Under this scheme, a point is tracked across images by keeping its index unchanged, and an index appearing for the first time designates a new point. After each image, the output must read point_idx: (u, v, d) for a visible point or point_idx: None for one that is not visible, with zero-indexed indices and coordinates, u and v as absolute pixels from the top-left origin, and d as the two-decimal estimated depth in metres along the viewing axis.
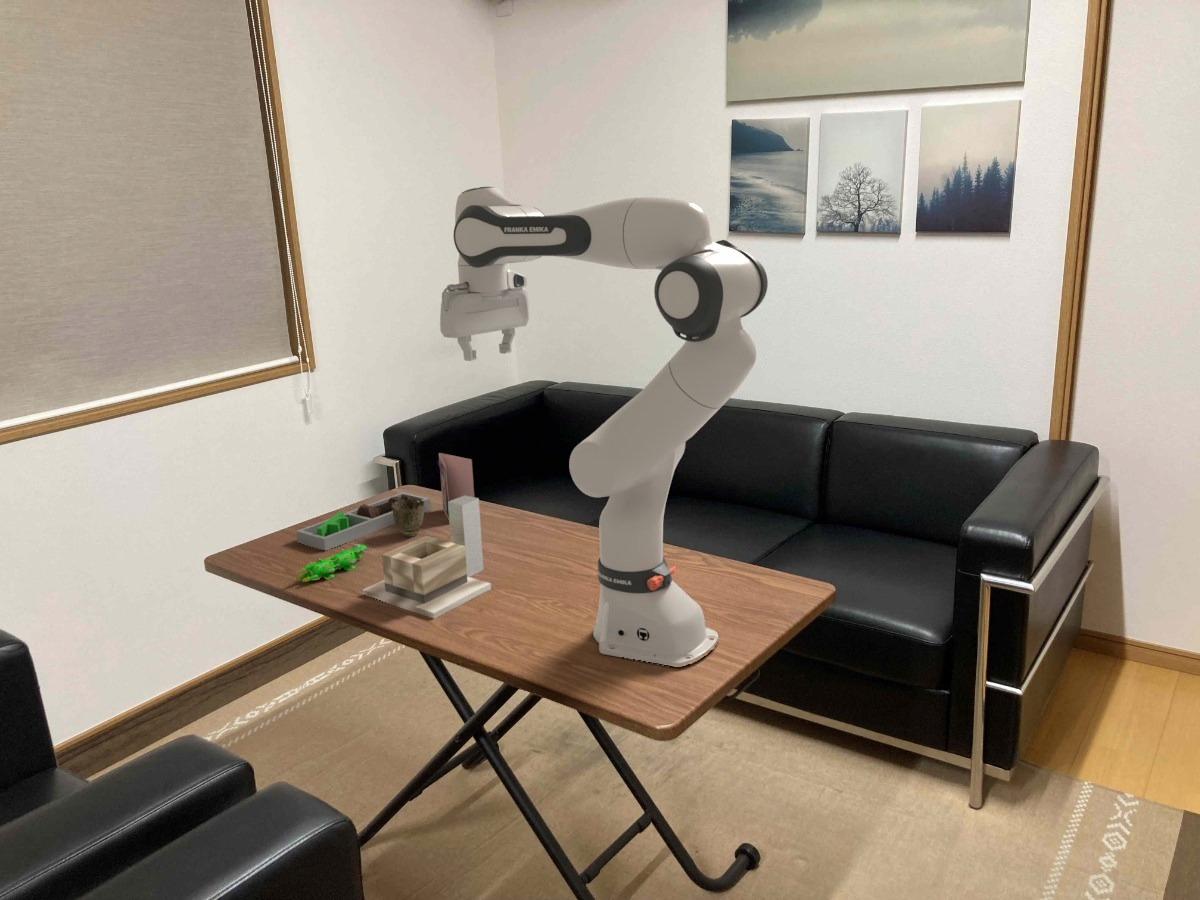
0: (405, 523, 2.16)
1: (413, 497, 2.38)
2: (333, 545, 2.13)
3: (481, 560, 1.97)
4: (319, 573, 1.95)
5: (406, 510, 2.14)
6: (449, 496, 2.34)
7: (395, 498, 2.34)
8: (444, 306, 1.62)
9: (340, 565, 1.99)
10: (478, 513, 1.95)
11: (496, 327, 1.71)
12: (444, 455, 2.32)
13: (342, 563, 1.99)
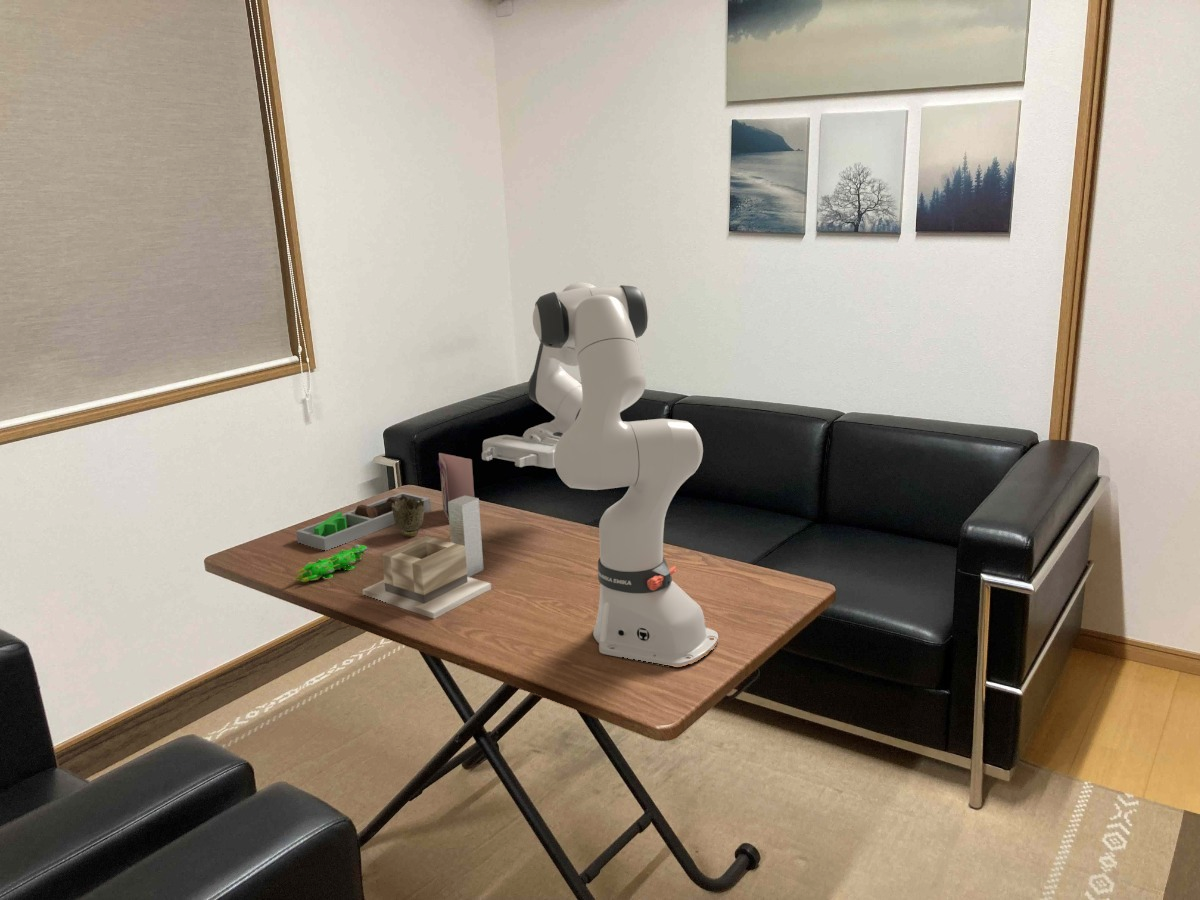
0: (405, 523, 2.16)
1: (413, 497, 2.38)
2: (333, 545, 2.13)
3: (481, 560, 1.97)
4: (318, 573, 1.95)
5: (406, 510, 2.14)
6: (449, 496, 2.34)
7: (393, 498, 2.34)
8: None
9: (340, 565, 1.99)
10: (478, 513, 1.95)
11: (518, 446, 2.05)
12: (444, 455, 2.32)
13: (341, 563, 1.99)
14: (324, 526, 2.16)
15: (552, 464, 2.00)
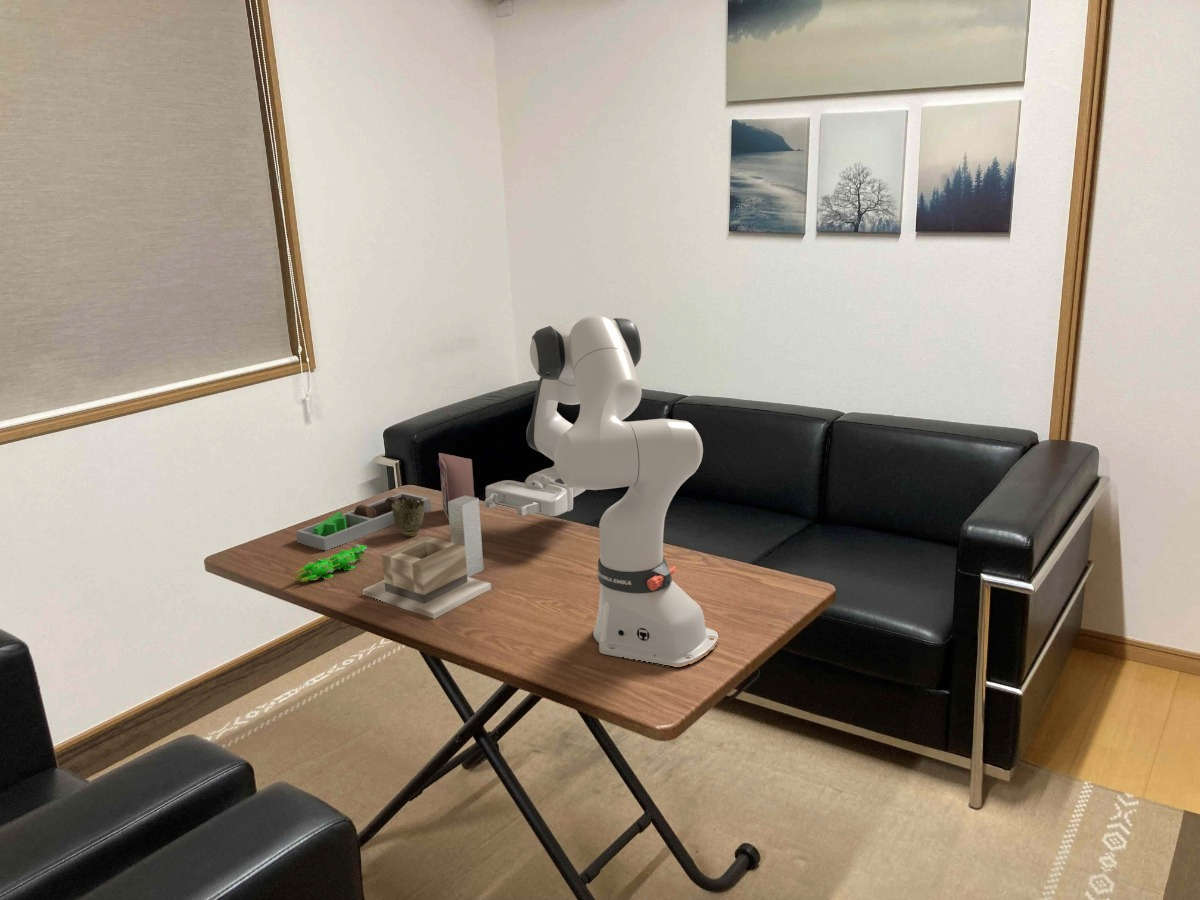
0: (405, 523, 2.16)
1: (413, 497, 2.38)
2: (333, 545, 2.13)
3: (481, 560, 1.97)
4: (318, 573, 1.95)
5: (406, 510, 2.14)
6: (449, 496, 2.34)
7: (392, 498, 2.34)
8: None
9: (339, 565, 1.99)
10: (478, 513, 1.95)
11: (521, 493, 2.08)
12: (444, 455, 2.32)
13: (341, 563, 1.99)
14: (323, 526, 2.16)
15: (554, 513, 2.03)
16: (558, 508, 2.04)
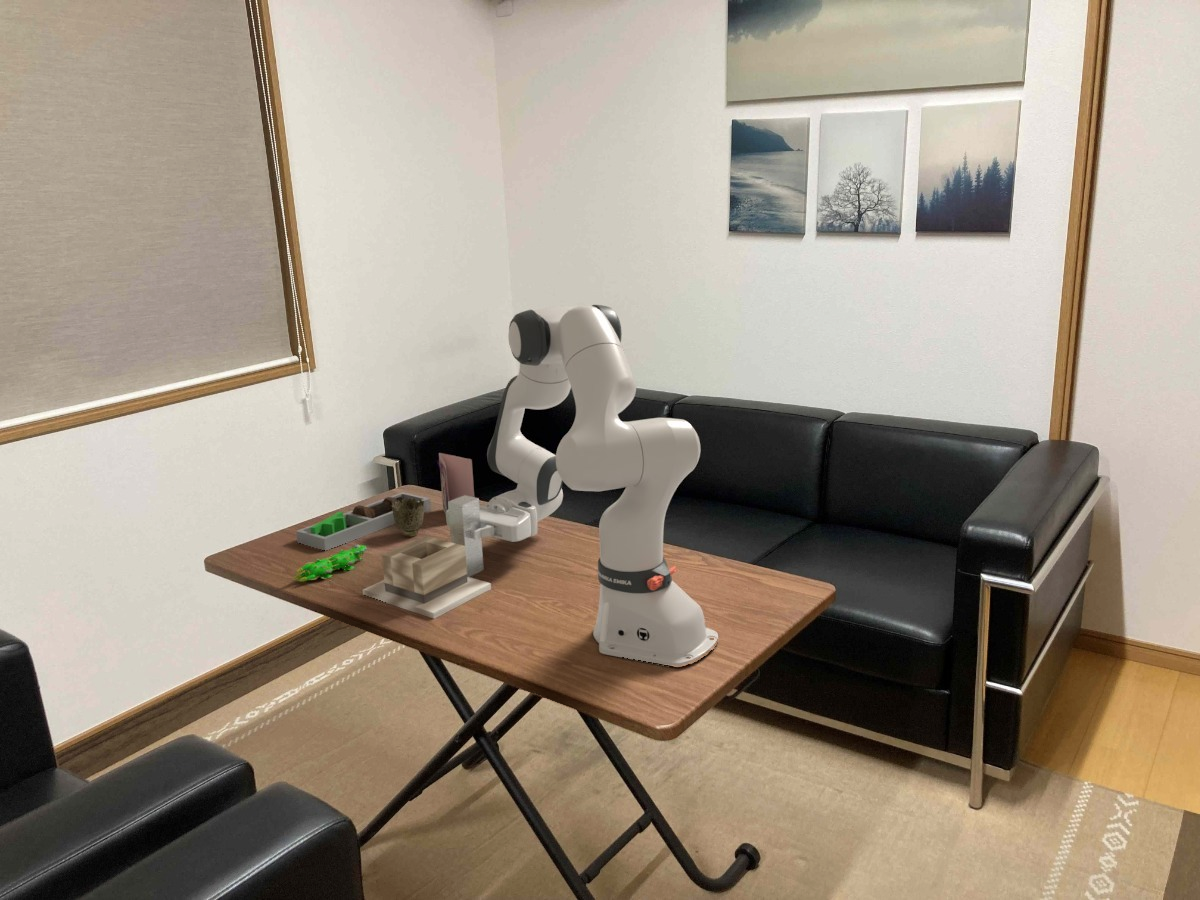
0: (405, 523, 2.16)
1: (413, 497, 2.38)
2: (333, 545, 2.13)
3: (481, 560, 1.97)
4: (317, 573, 1.95)
5: (406, 510, 2.14)
6: (449, 496, 2.34)
7: (390, 498, 2.34)
8: None
9: (339, 565, 1.99)
10: (478, 513, 1.95)
11: (482, 518, 1.98)
12: (444, 455, 2.32)
13: (340, 563, 1.99)
14: (321, 525, 2.16)
15: (516, 538, 1.93)
16: (520, 533, 1.94)
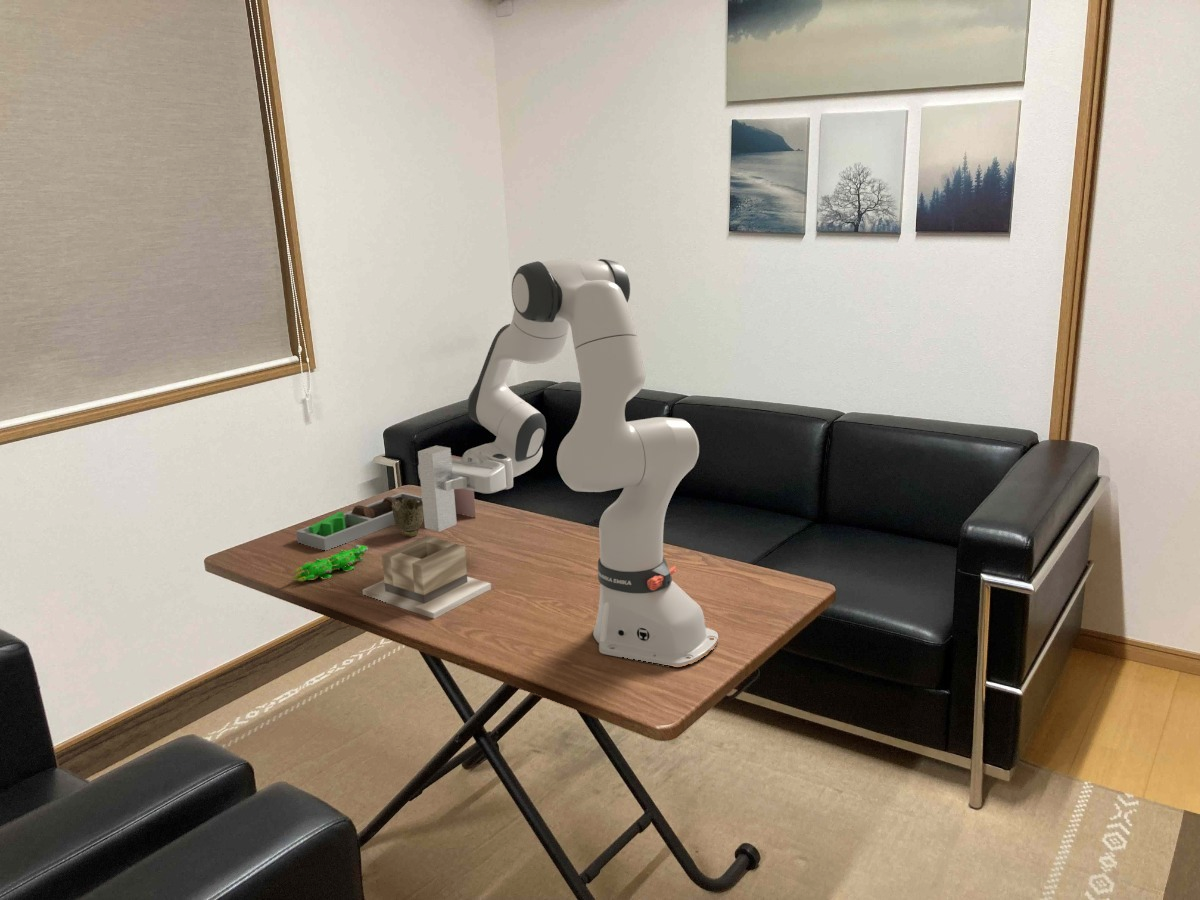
0: (405, 523, 2.16)
1: (413, 497, 2.38)
2: (333, 545, 2.13)
3: (454, 514, 1.88)
4: (316, 573, 1.95)
5: (406, 510, 2.14)
6: None
7: (390, 498, 2.34)
8: None
9: (338, 565, 1.99)
10: (450, 464, 1.86)
11: (455, 469, 1.89)
12: None
13: (340, 563, 1.99)
14: (320, 525, 2.17)
15: (489, 489, 1.84)
16: (494, 484, 1.85)
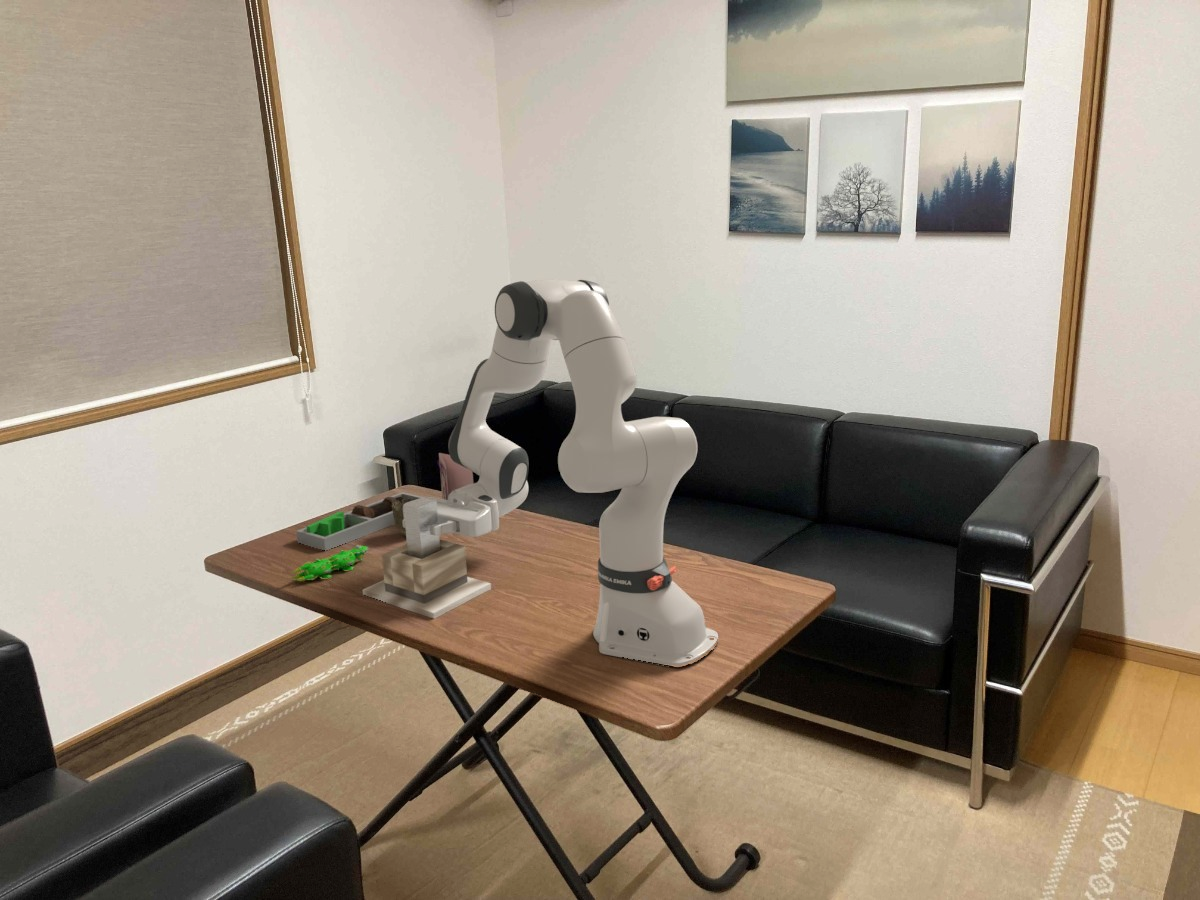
0: None
1: (413, 497, 2.38)
2: (333, 545, 2.13)
3: None
4: (315, 573, 1.95)
5: None
6: None
7: (390, 498, 2.34)
8: None
9: (338, 566, 1.99)
10: (436, 516, 1.85)
11: (440, 512, 1.87)
12: (444, 455, 2.32)
13: (340, 563, 1.99)
14: (318, 525, 2.17)
15: (474, 533, 1.83)
16: (479, 528, 1.83)
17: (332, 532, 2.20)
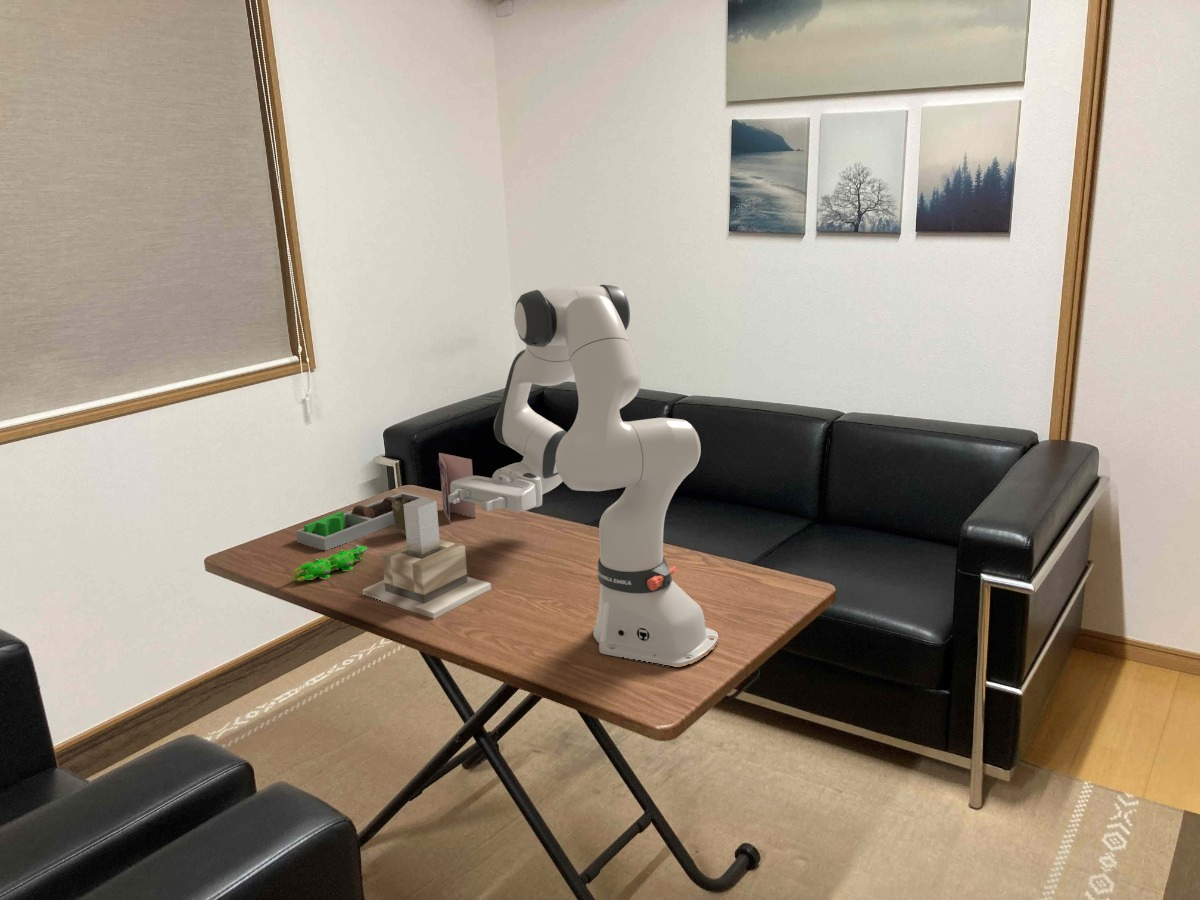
0: None
1: (413, 497, 2.38)
2: (333, 545, 2.13)
3: None
4: (314, 573, 1.95)
5: None
6: None
7: (389, 498, 2.34)
8: None
9: (338, 566, 1.99)
10: (436, 516, 1.85)
11: (487, 488, 1.97)
12: (444, 455, 2.32)
13: (339, 563, 1.99)
14: (316, 524, 2.17)
15: (521, 508, 1.92)
16: (525, 503, 1.93)
17: (331, 532, 2.20)
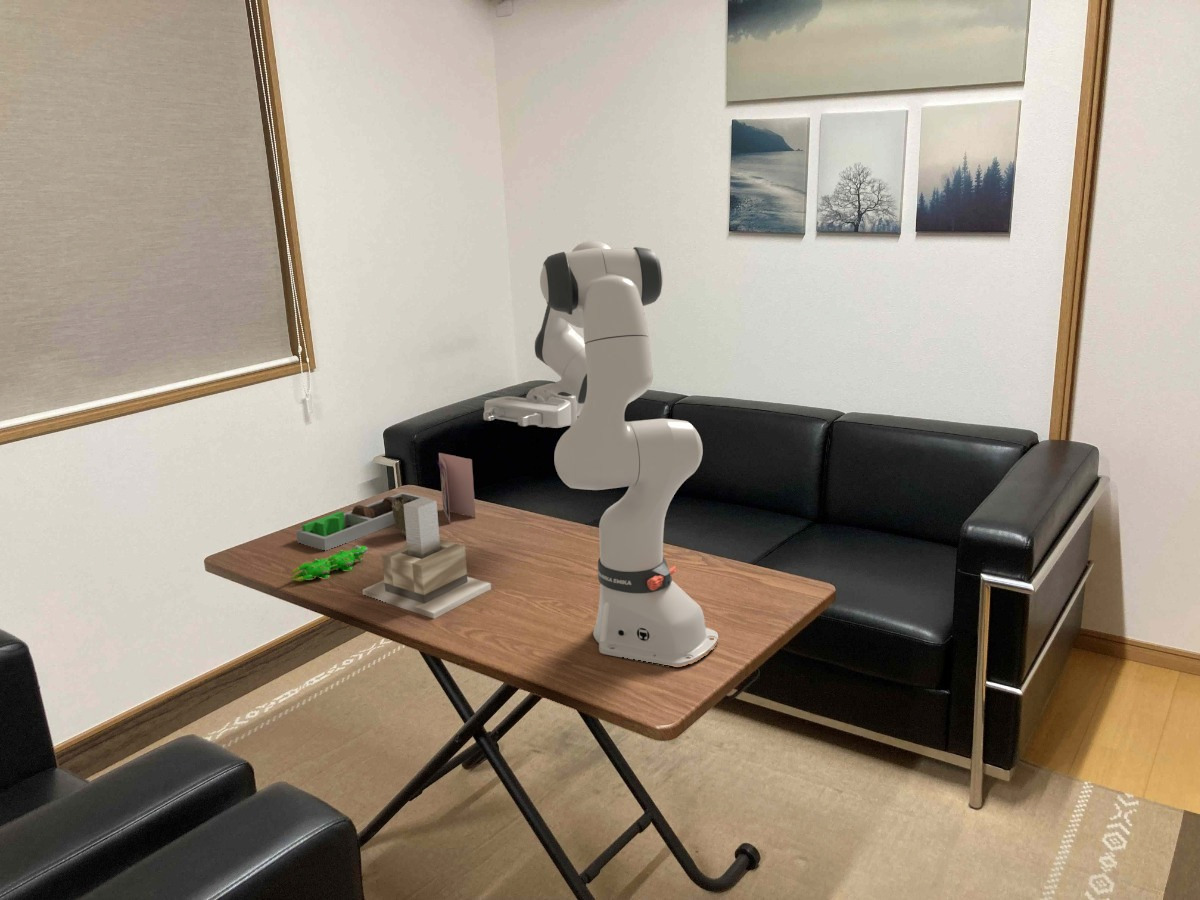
0: None
1: (413, 497, 2.38)
2: (333, 545, 2.13)
3: None
4: (314, 573, 1.95)
5: None
6: (449, 496, 2.34)
7: (389, 498, 2.34)
8: None
9: (337, 566, 1.99)
10: (436, 516, 1.85)
11: (522, 406, 1.96)
12: (444, 455, 2.32)
13: (339, 564, 1.99)
14: (314, 524, 2.18)
15: (557, 424, 1.91)
16: (561, 419, 1.92)
17: (329, 532, 2.21)
